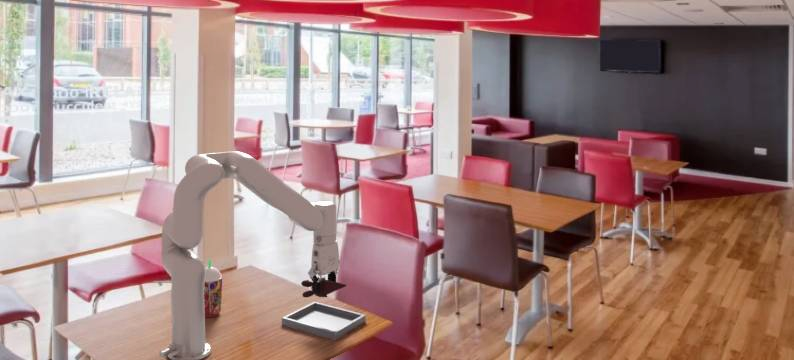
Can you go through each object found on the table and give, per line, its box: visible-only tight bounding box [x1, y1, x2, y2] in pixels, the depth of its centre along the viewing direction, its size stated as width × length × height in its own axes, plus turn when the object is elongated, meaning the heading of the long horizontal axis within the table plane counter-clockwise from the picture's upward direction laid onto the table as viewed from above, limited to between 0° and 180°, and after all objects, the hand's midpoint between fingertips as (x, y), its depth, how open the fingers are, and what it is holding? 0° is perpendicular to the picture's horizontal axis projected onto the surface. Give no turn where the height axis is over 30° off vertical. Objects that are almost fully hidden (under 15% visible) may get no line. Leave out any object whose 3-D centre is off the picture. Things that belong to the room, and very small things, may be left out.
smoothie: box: [204, 258, 223, 318], centre depth 226 cm, size 8×8×20 cm
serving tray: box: [281, 301, 367, 341], centre depth 223 cm, size 18×22×2 cm
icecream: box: [301, 276, 347, 298], centre depth 221 cm, size 7×7×15 cm
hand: (324, 288), depth 221 cm, fingers closed on icecream, 7 cm apart
